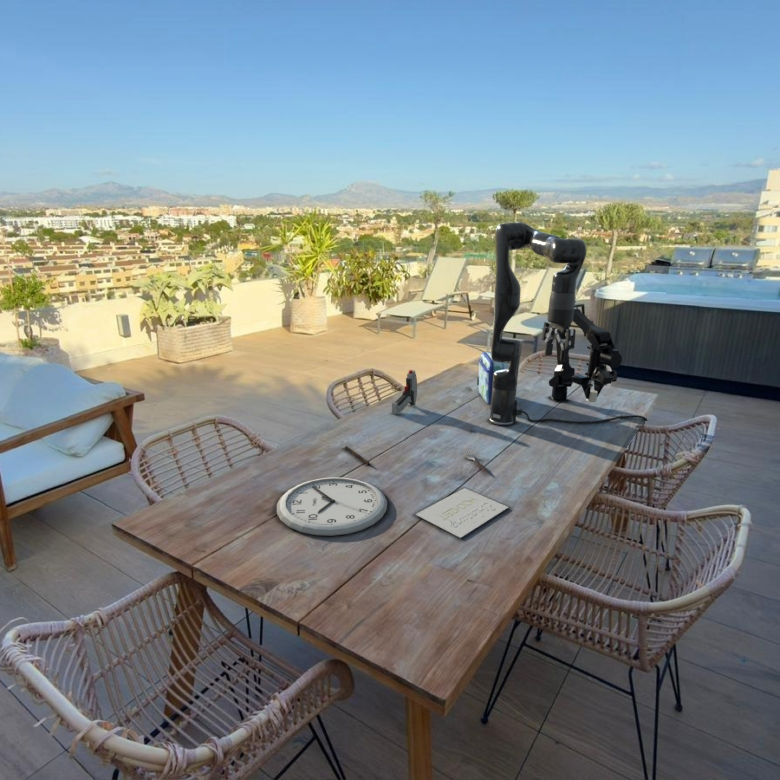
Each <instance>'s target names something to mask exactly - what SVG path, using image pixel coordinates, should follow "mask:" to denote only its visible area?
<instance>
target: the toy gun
mask: <svg viewBox="0 0 780 780" xmlns="http://www.w3.org/2000/svg"><path fill="white" fill-rule="evenodd" d="M403 388H404V391H403V392H402V395H400V396H399V397H398V399H396V401H393V402H392V403H391V413H392V414H393V415H399V414H400V413H402V411H404V410H405V409H406V408H407V406H408V405H409V406H411V407H416V403H417V397H418V377H417V373H416V371H415V370H413V369H409V370H408V372H407V374H406V377H405V386H404V387H403Z"/></svg>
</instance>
